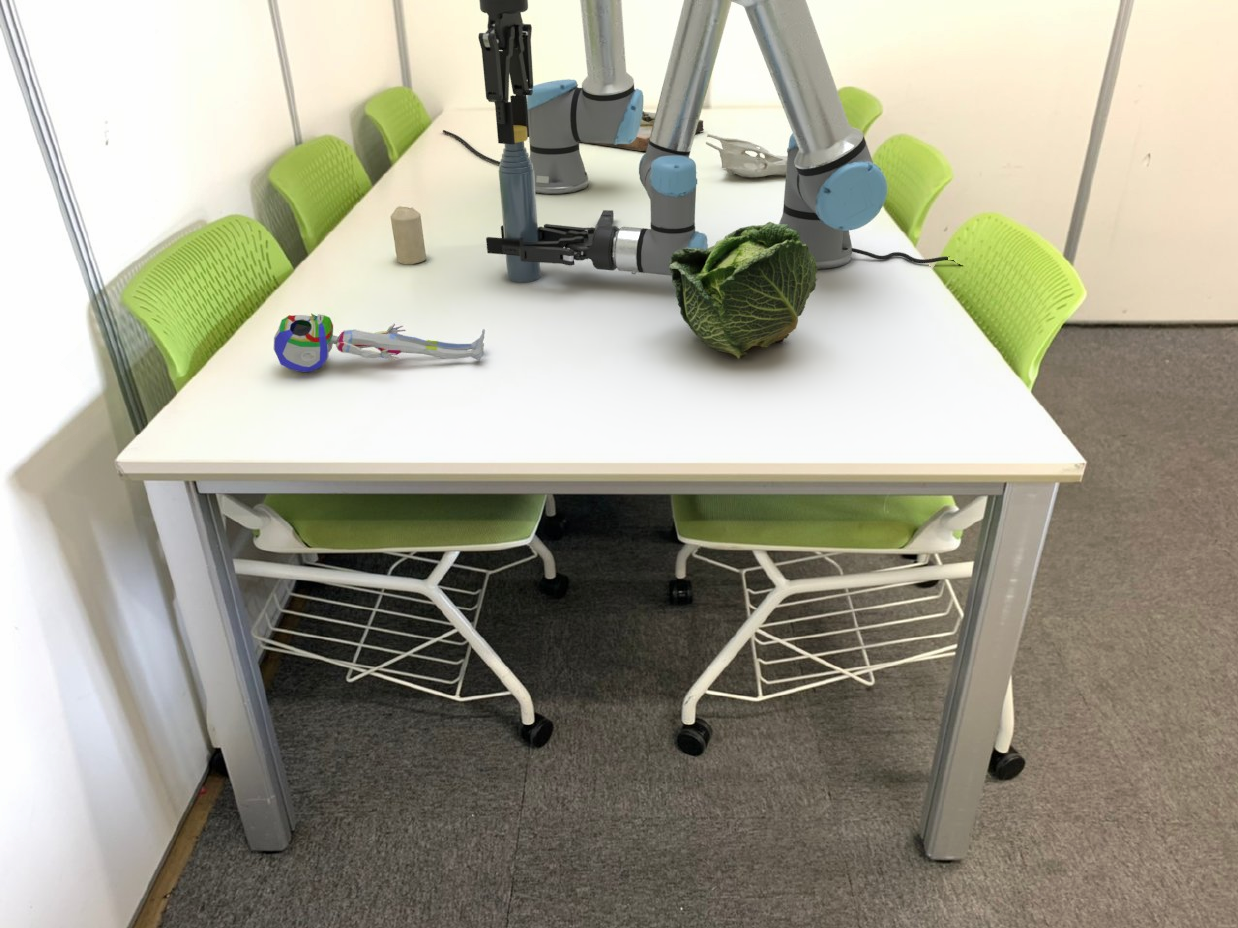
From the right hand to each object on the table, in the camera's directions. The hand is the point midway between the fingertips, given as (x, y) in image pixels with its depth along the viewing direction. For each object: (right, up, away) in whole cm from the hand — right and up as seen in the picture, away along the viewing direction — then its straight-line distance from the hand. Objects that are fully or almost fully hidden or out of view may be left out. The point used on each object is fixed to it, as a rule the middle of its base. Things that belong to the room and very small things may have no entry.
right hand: (495, 239), depth 162 cm
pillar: (+19, +6, +21) cm, 29 cm away
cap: (+5, +15, -11) cm, 20 cm away
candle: (-18, -1, +10) cm, 20 cm away
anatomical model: (+56, +31, +59) cm, 87 cm away
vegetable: (+41, -22, -24) cm, 53 cm away
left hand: (+5, +14, -11) cm, 18 cm away
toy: (-13, -26, -28) cm, 40 cm away
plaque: (+27, +54, +97) cm, 115 cm away
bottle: (+5, -6, +2) cm, 8 cm away
